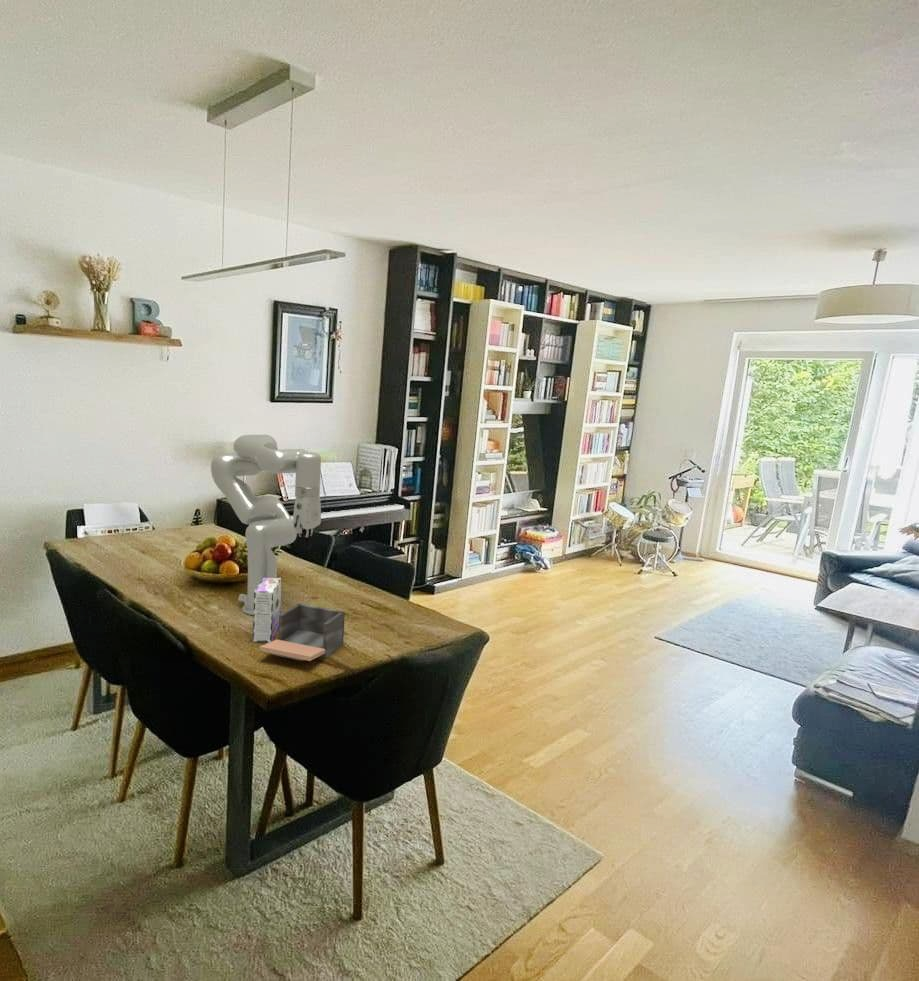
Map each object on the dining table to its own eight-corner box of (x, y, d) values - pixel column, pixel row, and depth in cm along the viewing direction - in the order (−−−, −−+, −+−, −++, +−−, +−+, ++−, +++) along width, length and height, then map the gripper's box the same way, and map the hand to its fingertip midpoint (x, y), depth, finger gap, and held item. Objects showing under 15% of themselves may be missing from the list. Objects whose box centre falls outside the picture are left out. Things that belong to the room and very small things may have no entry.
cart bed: (277, 648, 185) (278, 615, 183) (297, 634, 195) (298, 603, 194) (326, 658, 181) (327, 624, 179) (343, 643, 191) (344, 611, 190)
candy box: (262, 624, 201) (263, 576, 198) (280, 625, 202) (282, 577, 199) (252, 642, 188) (253, 590, 185) (271, 642, 188) (273, 591, 185)
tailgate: (276, 645, 183) (259, 653, 175) (276, 639, 183) (259, 646, 175) (324, 655, 179) (309, 663, 171) (325, 649, 179) (310, 656, 171)
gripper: (306, 496, 185) (304, 555, 188) (329, 490, 199) (327, 545, 202) (284, 493, 187) (282, 552, 190) (308, 487, 201) (306, 541, 204)
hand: (305, 548), depth 196 cm, fingers closed
